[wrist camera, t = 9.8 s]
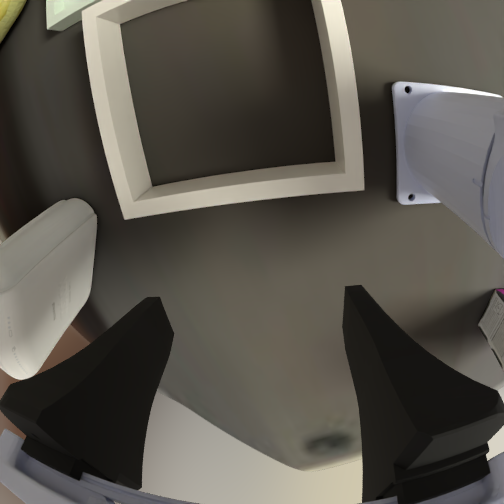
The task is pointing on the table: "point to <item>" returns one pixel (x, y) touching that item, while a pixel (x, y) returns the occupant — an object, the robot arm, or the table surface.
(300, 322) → the table surface
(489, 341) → the candy bar box
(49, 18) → the tray
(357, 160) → the square open frame
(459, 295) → the table surface
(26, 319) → the photo printer
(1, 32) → the cell model
